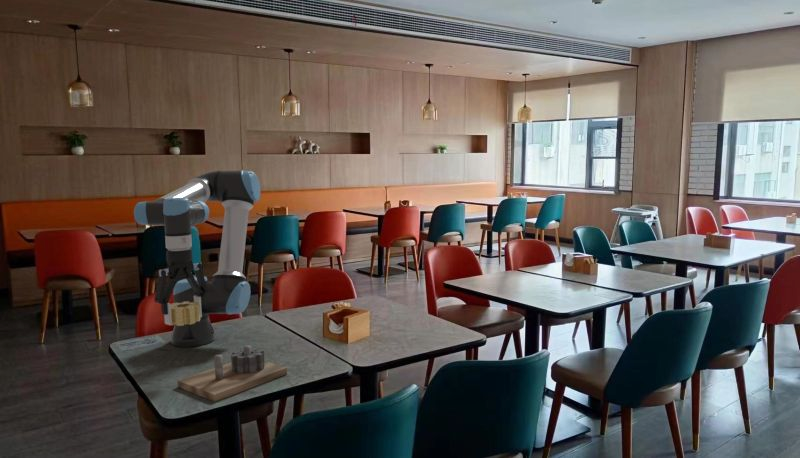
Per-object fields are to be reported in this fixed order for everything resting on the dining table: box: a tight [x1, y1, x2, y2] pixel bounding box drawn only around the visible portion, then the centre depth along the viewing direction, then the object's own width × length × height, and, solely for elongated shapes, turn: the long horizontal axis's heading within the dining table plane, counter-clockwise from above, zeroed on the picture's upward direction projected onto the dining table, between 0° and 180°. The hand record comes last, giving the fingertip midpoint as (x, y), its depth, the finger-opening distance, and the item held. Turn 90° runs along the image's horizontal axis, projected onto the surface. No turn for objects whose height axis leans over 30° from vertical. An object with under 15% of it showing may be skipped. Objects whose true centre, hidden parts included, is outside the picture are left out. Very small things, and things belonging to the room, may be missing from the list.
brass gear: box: [170, 302, 200, 326], centre depth 185 cm, size 10×10×5 cm
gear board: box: [177, 344, 288, 403], centre depth 180 cm, size 18×26×9 cm
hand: (183, 320), depth 185 cm, fingers closed on brass gear, 10 cm apart
